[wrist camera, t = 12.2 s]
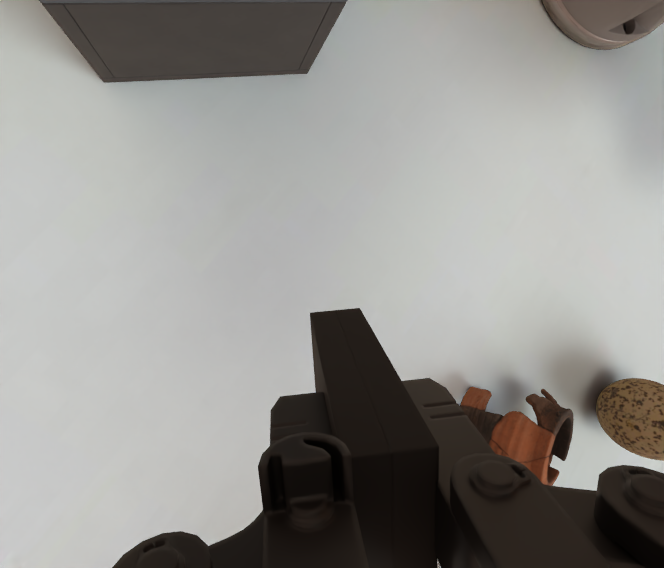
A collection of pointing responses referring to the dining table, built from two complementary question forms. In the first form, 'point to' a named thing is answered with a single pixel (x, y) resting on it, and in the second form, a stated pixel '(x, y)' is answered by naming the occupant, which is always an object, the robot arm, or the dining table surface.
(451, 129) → the dining table surface
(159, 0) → the dark grey box lid
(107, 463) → the dining table surface
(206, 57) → the dark grey box
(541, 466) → the brown curved piece
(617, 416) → the decorative egg
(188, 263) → the dining table surface
